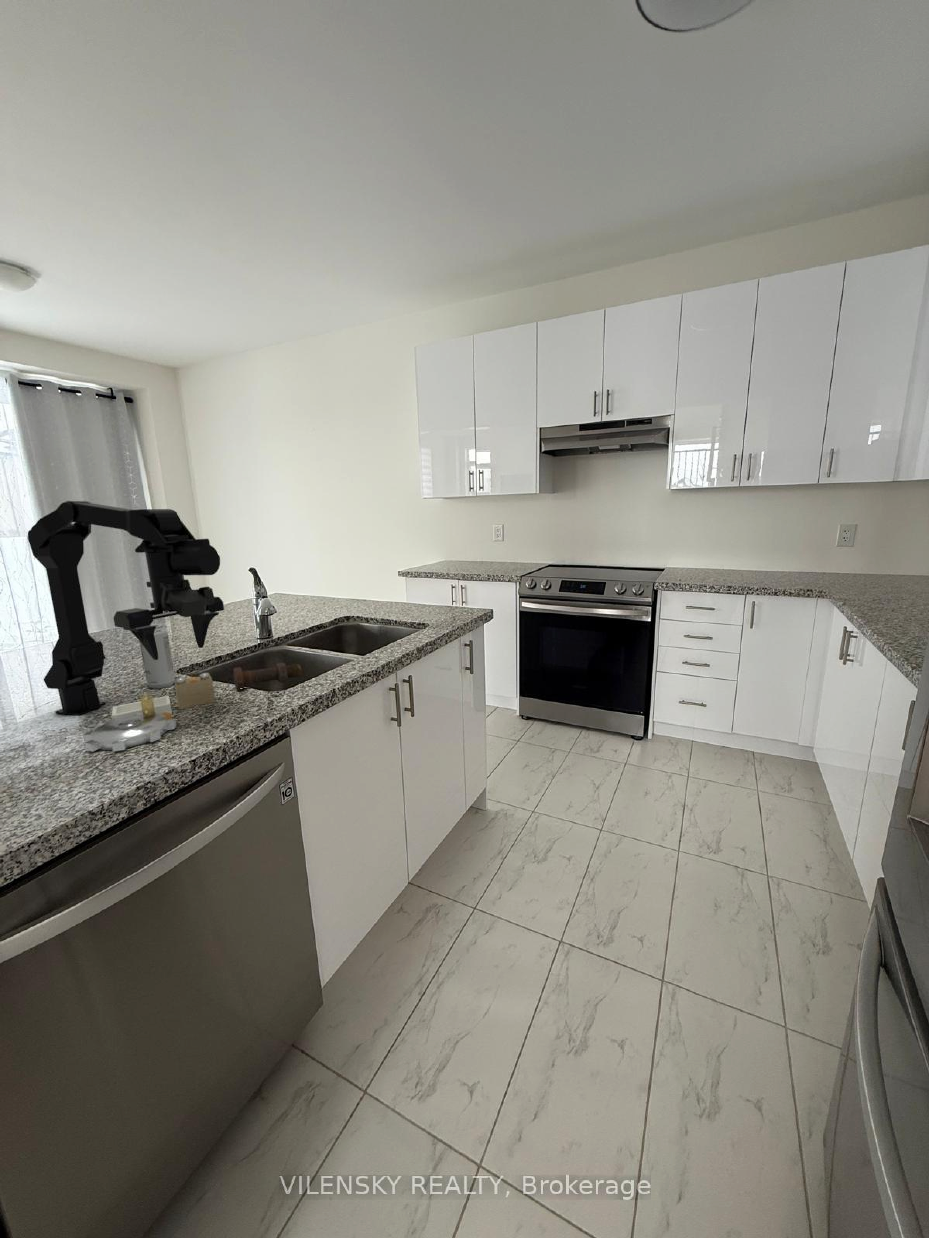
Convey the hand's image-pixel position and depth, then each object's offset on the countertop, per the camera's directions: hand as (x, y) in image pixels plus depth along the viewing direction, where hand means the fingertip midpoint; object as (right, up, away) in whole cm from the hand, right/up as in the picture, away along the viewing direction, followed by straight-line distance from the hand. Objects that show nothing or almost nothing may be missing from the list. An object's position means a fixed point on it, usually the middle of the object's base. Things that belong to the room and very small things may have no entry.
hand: (179, 653), depth 99 cm
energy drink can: (-18, -10, +23) cm, 31 cm away
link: (-2, -12, +10) cm, 16 cm away
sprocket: (-6, -15, -5) cm, 17 cm away
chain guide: (-10, -13, +4) cm, 17 cm away
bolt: (+10, -9, +22) cm, 26 cm away
